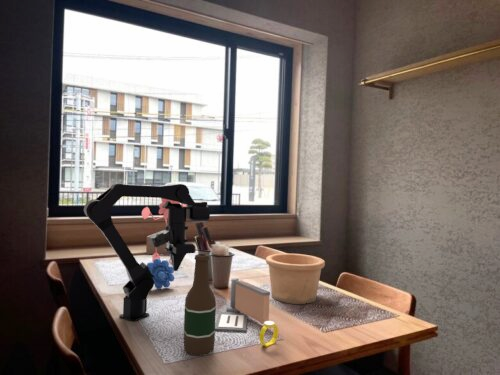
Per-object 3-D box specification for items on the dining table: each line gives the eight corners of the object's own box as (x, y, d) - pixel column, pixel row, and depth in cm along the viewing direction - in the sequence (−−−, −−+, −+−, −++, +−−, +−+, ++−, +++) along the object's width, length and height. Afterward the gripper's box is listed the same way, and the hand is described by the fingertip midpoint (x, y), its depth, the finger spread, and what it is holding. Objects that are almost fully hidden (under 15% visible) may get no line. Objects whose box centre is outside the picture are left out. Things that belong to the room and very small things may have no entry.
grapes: (146, 293, 139) (147, 261, 139) (142, 288, 145) (143, 257, 145) (177, 290, 145) (178, 259, 144) (172, 285, 151) (173, 255, 150)
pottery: (325, 292, 150) (326, 256, 150) (320, 310, 129) (322, 268, 128) (271, 286, 156) (273, 251, 155) (258, 302, 134) (260, 262, 134)
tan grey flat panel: (228, 305, 125) (229, 278, 125) (235, 304, 126) (236, 277, 126) (262, 324, 110) (263, 293, 110) (269, 322, 111) (270, 292, 111)
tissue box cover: (162, 246, 236) (162, 230, 236) (184, 247, 235) (185, 231, 235) (146, 254, 211) (146, 236, 211) (171, 256, 209) (171, 237, 209)
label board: (220, 307, 127) (221, 304, 127) (247, 308, 127) (247, 305, 127) (214, 330, 108) (214, 326, 108) (245, 332, 108) (246, 327, 107)
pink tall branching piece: (136, 265, 181) (139, 193, 180) (182, 260, 199) (185, 193, 197) (151, 273, 170) (155, 195, 169) (199, 266, 187) (202, 195, 186)
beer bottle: (215, 343, 100) (218, 252, 99) (213, 356, 92) (216, 258, 91) (185, 342, 99) (188, 251, 99) (180, 356, 92) (184, 257, 91)
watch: (265, 350, 97) (264, 328, 97) (257, 347, 99) (257, 324, 99) (280, 342, 101) (280, 321, 101) (272, 339, 103) (272, 317, 103)
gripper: (144, 219, 126) (142, 266, 126) (161, 227, 110) (159, 280, 110) (176, 219, 132) (175, 264, 132) (196, 225, 115) (195, 276, 116)
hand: (175, 270), depth 122 cm, fingers closed
